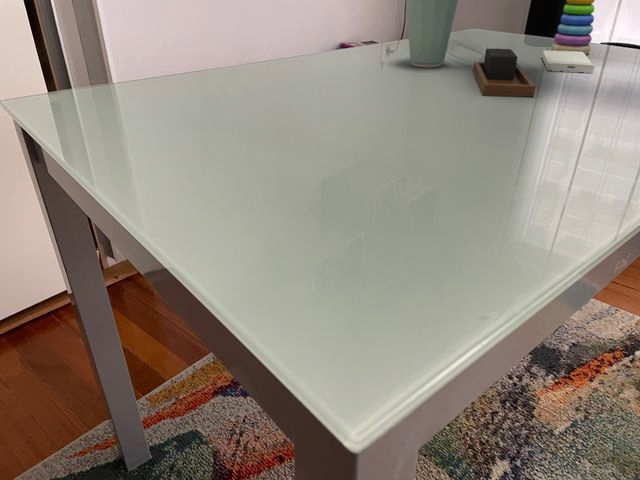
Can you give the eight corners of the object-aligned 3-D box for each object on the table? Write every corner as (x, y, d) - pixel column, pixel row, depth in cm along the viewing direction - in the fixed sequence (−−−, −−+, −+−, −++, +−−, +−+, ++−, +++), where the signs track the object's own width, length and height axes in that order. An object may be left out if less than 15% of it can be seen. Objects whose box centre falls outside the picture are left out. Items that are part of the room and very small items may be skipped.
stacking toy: (594, 52, 117) (618, -44, 107) (581, 57, 112) (605, -42, 102) (559, 47, 121) (579, -45, 112) (544, 52, 116) (564, -43, 107)
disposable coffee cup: (441, 73, 101) (450, -14, 93) (390, 66, 106) (395, -16, 98) (459, 62, 109) (469, -19, 101) (411, 56, 113) (417, -21, 106)
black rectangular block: (507, 71, 99) (511, 49, 97) (513, 80, 94) (517, 56, 91) (482, 70, 100) (486, 48, 98) (487, 79, 94) (491, 56, 92)
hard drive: (542, 49, 111) (549, 62, 101) (584, 51, 110) (595, 64, 99) (541, 58, 112) (547, 71, 102) (582, 59, 110) (592, 73, 100)
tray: (515, 72, 101) (517, 63, 100) (533, 97, 86) (535, 86, 85) (472, 71, 102) (474, 61, 101) (482, 95, 87) (484, 84, 86)
